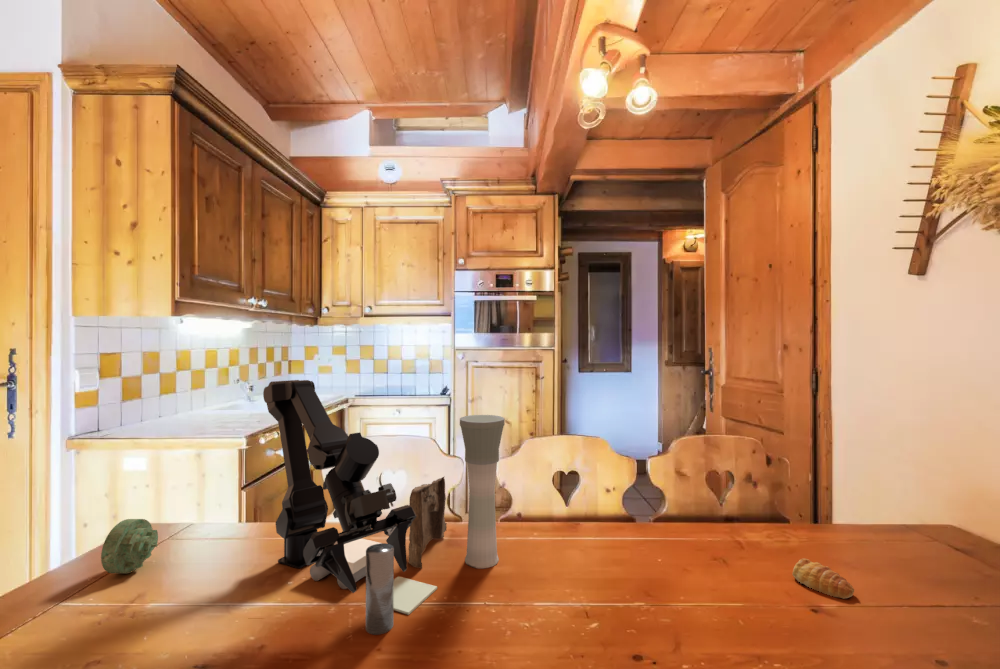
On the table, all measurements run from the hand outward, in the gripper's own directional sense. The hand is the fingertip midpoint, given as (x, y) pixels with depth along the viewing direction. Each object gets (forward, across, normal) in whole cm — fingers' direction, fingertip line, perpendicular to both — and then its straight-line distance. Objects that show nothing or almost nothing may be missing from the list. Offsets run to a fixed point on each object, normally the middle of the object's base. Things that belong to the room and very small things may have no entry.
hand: (381, 580), depth 75 cm
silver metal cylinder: (+5, 0, +6) cm, 8 cm away
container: (+2, +27, +9) cm, 29 cm away
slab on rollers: (-9, +4, +20) cm, 22 cm away
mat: (+2, +8, +9) cm, 12 cm away
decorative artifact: (-31, -25, +41) cm, 57 cm away
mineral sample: (-6, +22, +17) cm, 29 cm away
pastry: (+40, +66, -28) cm, 82 cm away
